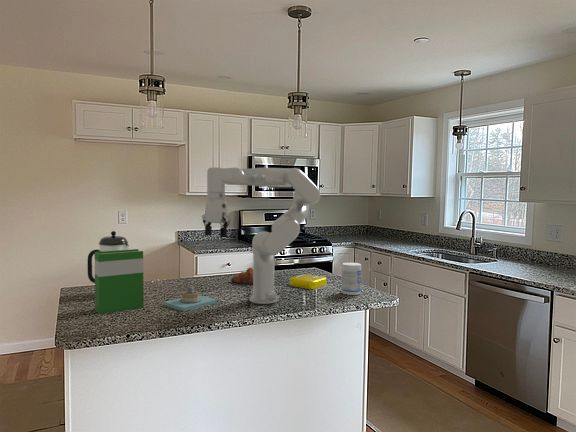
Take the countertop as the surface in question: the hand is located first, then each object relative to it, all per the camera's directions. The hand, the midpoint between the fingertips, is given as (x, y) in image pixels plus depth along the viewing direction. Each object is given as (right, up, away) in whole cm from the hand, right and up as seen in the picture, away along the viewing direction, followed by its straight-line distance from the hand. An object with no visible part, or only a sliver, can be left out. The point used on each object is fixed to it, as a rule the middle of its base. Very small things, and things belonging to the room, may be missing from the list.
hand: (215, 236), depth 191 cm
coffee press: (-53, -29, +19) cm, 63 cm away
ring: (-12, -28, +3) cm, 30 cm away
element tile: (+42, -29, +45) cm, 68 cm away
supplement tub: (+62, -30, +28) cm, 75 cm away
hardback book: (-40, -30, -5) cm, 50 cm away
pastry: (+11, -28, +50) cm, 58 cm away
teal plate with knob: (-12, -30, +3) cm, 32 cm away
